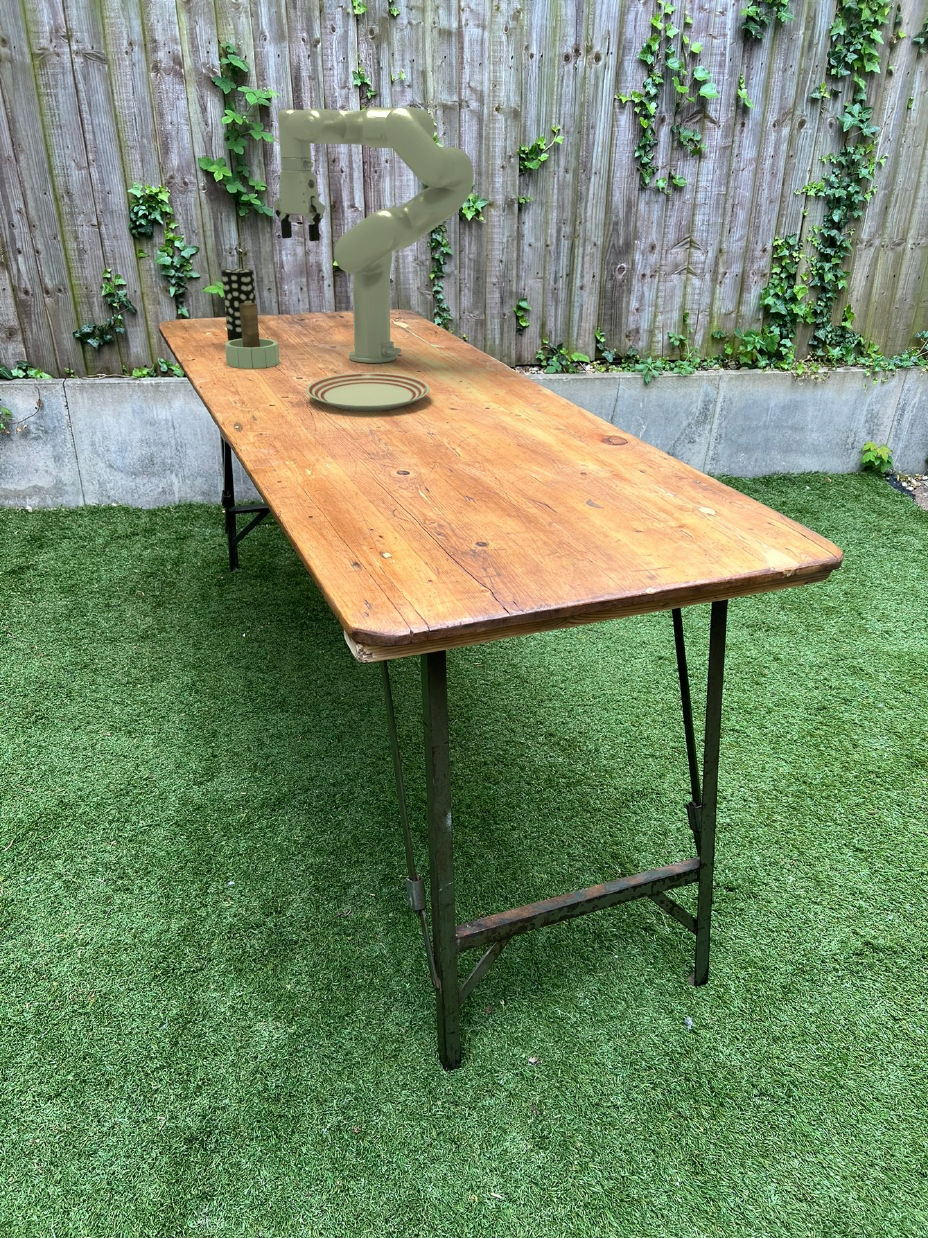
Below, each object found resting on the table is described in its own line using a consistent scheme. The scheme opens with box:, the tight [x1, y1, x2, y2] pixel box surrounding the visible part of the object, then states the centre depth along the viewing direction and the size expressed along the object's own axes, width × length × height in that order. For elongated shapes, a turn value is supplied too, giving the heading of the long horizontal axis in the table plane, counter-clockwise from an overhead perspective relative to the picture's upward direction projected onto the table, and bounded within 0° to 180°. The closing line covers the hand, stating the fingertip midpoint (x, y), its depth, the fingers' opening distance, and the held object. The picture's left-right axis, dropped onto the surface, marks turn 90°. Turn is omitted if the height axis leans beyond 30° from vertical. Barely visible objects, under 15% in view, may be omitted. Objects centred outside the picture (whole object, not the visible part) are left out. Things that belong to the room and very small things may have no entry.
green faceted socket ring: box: [224, 337, 281, 370], centre depth 233 cm, size 13×13×5 cm
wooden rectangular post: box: [239, 303, 260, 348], centre depth 231 cm, size 3×3×14 cm
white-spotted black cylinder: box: [220, 268, 257, 342], centre depth 246 cm, size 8×8×20 cm
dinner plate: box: [305, 372, 431, 412], centre depth 203 cm, size 27×27×3 cm
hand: (300, 239), depth 236 cm, fingers open, 9 cm apart
